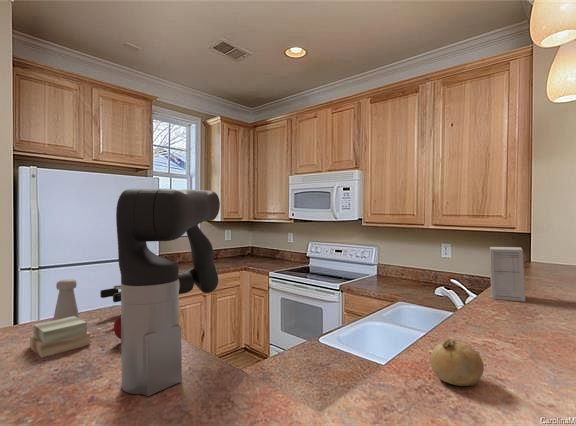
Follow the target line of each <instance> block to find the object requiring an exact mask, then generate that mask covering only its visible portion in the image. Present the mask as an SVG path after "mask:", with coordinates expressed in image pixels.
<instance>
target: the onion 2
mask: <svg viewBox="0 0 576 426" xmlns="http://www.w3.org/2000/svg"><path fill="white" fill-rule="evenodd" d="M429 361H430V363H429V364H430V366H431V369H432V371H433V373H434V375H435V376H436V377H437V378H438V379H440V380H441V381H442V382H445V383H448V384H450V385H454V386H457V387H458V386H460V387H463V386H464V387H465V386H466V387H467V386H468V387H471V386H476V385H477V384H478V383H479V381H480V379H481V378H482V377H483V374H484V371H485V365H484V361H483V359H482V356H480V353H479V352H478V351H477V350H475V349H474V348H473V347H472V346H470V345H469V344H467V343H464V342H461V341H457V340H453V339H450V338H448V337H447V338H445V340H444V339H443V340H441V342H440V343H438V344H437V345H436V346H435V347H434V348H433V350H432V352H431V354H430V359H429Z"/></svg>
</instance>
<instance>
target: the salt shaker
mask: <svg viewBox="0 0 576 426" xmlns="http://www.w3.org/2000/svg"><path fill="white" fill-rule="evenodd" d="M55 286H56V290H58V294H57V300H56V304H55V309H54V314H53V317H52V321H53V320H58V319H63V318H68V317H73V316H75V317H77V318H79V319H81V318H80V313H79V309H78V306H77V300H76V295H75V290H74V289H76V288H77V280H76V279H73V278H66V279H65V278H64V279H61V280H58V281H57V282H56V285H55Z"/></svg>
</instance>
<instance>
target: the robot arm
mask: <svg viewBox="0 0 576 426" xmlns="http://www.w3.org/2000/svg"><path fill="white" fill-rule="evenodd" d="M220 208H221V202H220V198H219V195H218V194H217V192H215V191H213V190H206V189H205V190H204V189H174V188H173V189H172V188H129V189H126V190H123V191H122V192H121V193H120V195H119V197H118V200H117V203H116V209H115V211H116V212H115V218H116V219H115V220H116V233H117V234H116V235H117V237H116V238H117V250H118V251H117V252H118V254H117V257H118V267H119V272H120V285H114V286H113V287H111V288H106V289H101V290H100V291H99V293H100V298H102V299H105V298H110V297H112V302H113V303H118V302H119V303H120V314H121V339H120V346H121V347H120V350H121V351H120V353H121V354H120V355H121V356H120V358H121V361H120V362H121V389H122V391H124V392H125V393H128V394H133V395H144V396H146V397H149V396H152V395H154V394H156V393H158V392H161V391H163V390H165V389H167V388H170V387H173V386H174V385H175V386H176V385H177V384H179V383H181V382H182V381H183V377H182V376H183V373H182V371H183V369H182V367H183V365H182V358H183V357H182V326H181V325H180V308H179V307H180V306H179V305H180V298H179V297H180V295H183V294H187V293H190V292H191V291H193V288H194V285H195V286H196V287H197V288H198V289H199V290H200V292H202V293H204V294H210V293H213V292H214V291H215V290H216V289H217V288H218V285H219V275H218V272H217V268H216V265H215V263H214V262H215V261H214V249H213V245H212V243H211V241H210V239H209V238H208V237H207V235H206V234H205V233H204V232H203V231H202V230H201V228H200V227H199V225H200V224H201V223H204V222H211V221H214V220H215V219H216V218H217V217H218V215H219V213H220ZM185 234H186V235H187V238H188V242H189V245H190V252H191V261H192V262H191V263H192V268H190V269H187V270H185V271H183V272H180V271H179V266H178V263H177V262H175V261H173V260H171V259H167V258H164V257H161V256H159V255H157V254H156V253H154V252H152V250H151V249H149V248H148V247H149V246H148V244H147V242H170V241H175V240H178V239H180V238H181V237H182V236H183V235H185ZM119 290H120V291H119Z"/></svg>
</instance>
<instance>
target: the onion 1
mask: <svg viewBox="0 0 576 426" xmlns="http://www.w3.org/2000/svg"><path fill="white" fill-rule="evenodd" d="M113 332H114V335H115V336H116V337H117V338H118V339H119V340H121V313H120V314H119V315H118V316H117V318H116V319H115V321H114V324H113Z"/></svg>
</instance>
